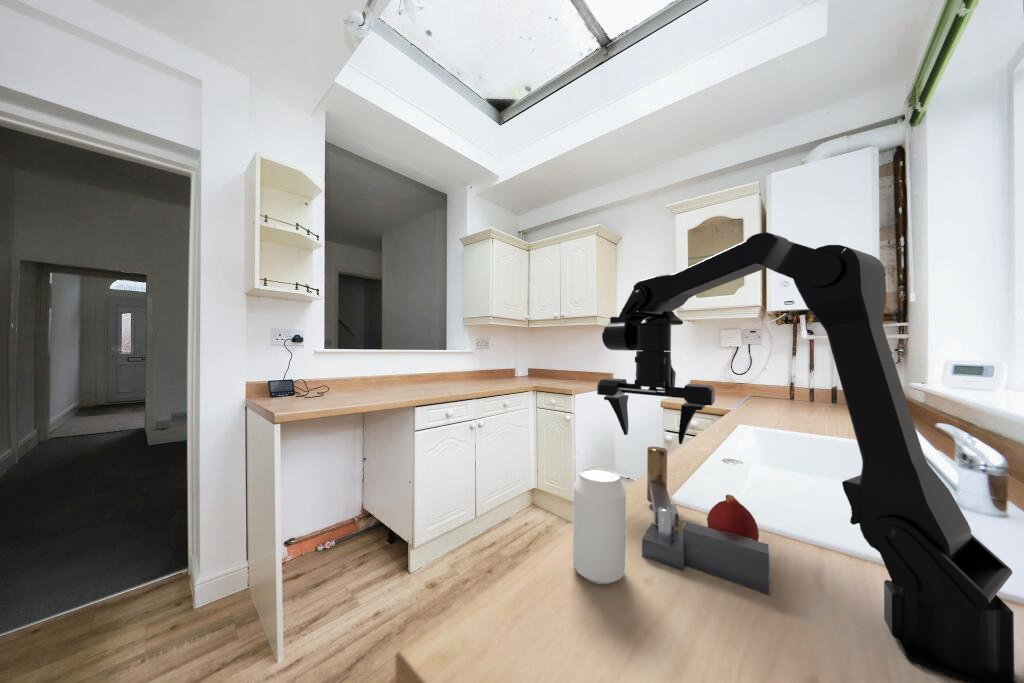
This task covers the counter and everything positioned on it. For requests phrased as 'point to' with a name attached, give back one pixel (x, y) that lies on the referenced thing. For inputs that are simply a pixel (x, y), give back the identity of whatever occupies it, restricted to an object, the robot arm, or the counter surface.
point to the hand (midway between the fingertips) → (652, 438)
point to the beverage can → (599, 525)
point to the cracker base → (707, 551)
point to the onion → (733, 519)
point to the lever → (658, 481)
